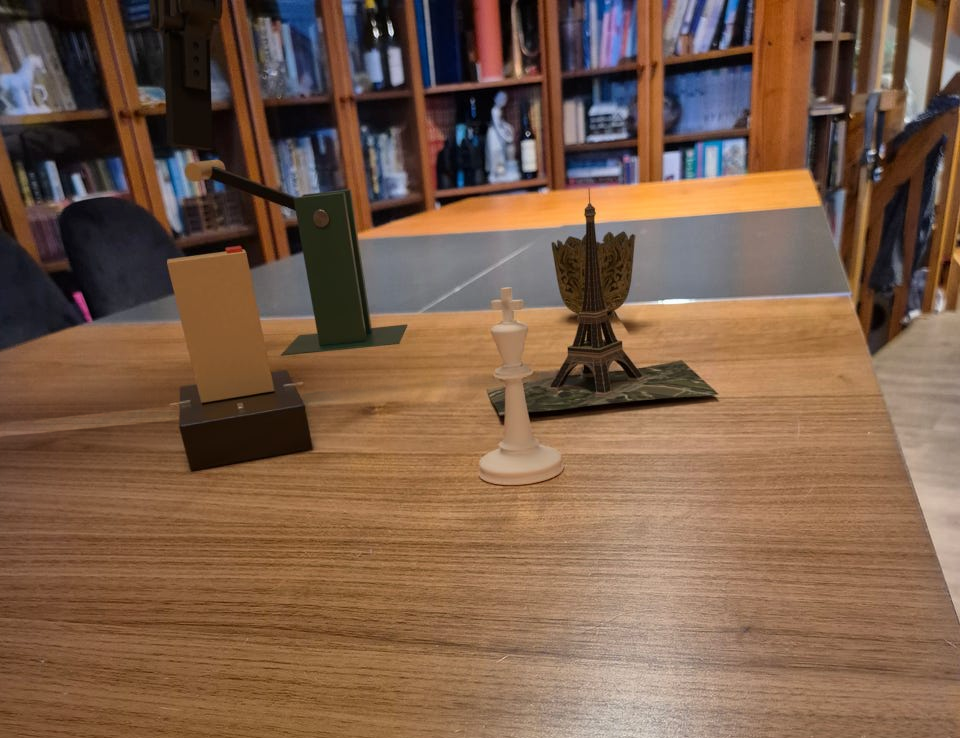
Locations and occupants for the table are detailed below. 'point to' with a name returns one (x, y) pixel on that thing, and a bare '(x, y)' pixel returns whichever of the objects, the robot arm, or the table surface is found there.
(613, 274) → the cup
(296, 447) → the base
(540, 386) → the eiffel tower figurine
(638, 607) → the table surface
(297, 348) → the bracket
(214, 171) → the lever
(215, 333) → the tan standing plaque
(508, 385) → the chess piece
